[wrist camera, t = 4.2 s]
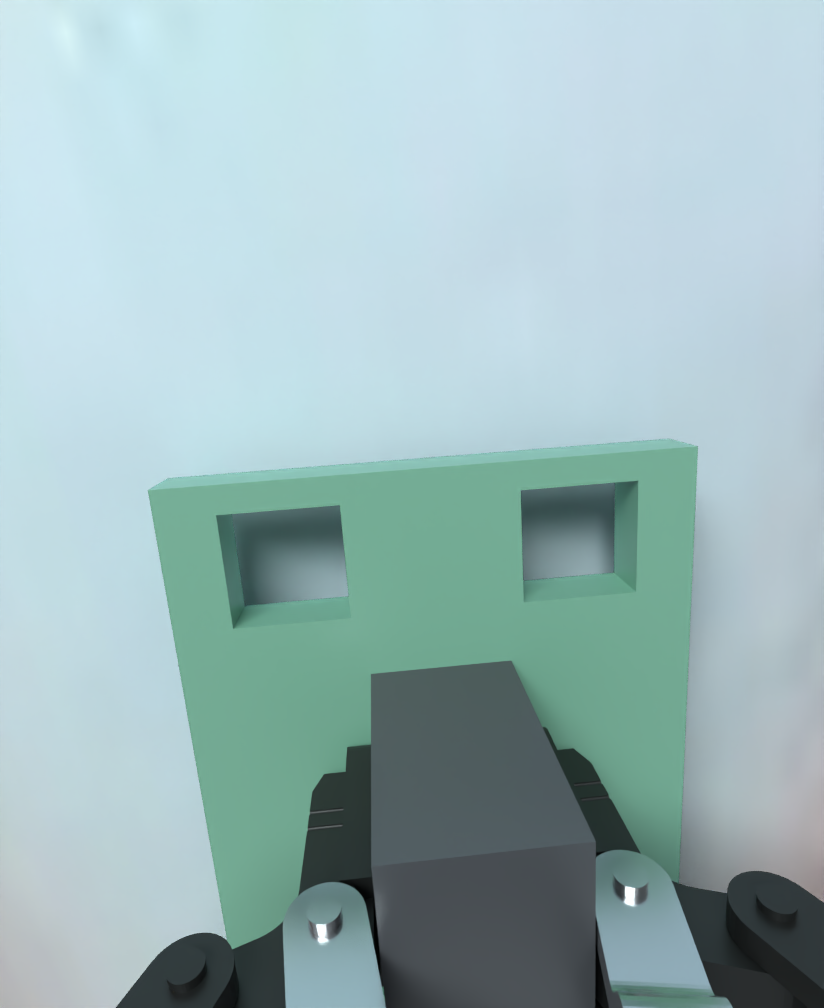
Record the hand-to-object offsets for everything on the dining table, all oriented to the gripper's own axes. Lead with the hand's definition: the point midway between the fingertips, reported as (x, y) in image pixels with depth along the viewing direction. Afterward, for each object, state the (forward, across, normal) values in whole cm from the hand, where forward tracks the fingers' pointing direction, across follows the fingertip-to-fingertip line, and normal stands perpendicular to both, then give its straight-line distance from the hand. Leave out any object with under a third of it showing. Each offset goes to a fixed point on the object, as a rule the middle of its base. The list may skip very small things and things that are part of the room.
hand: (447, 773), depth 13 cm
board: (+1, 0, 0) cm, 1 cm away
